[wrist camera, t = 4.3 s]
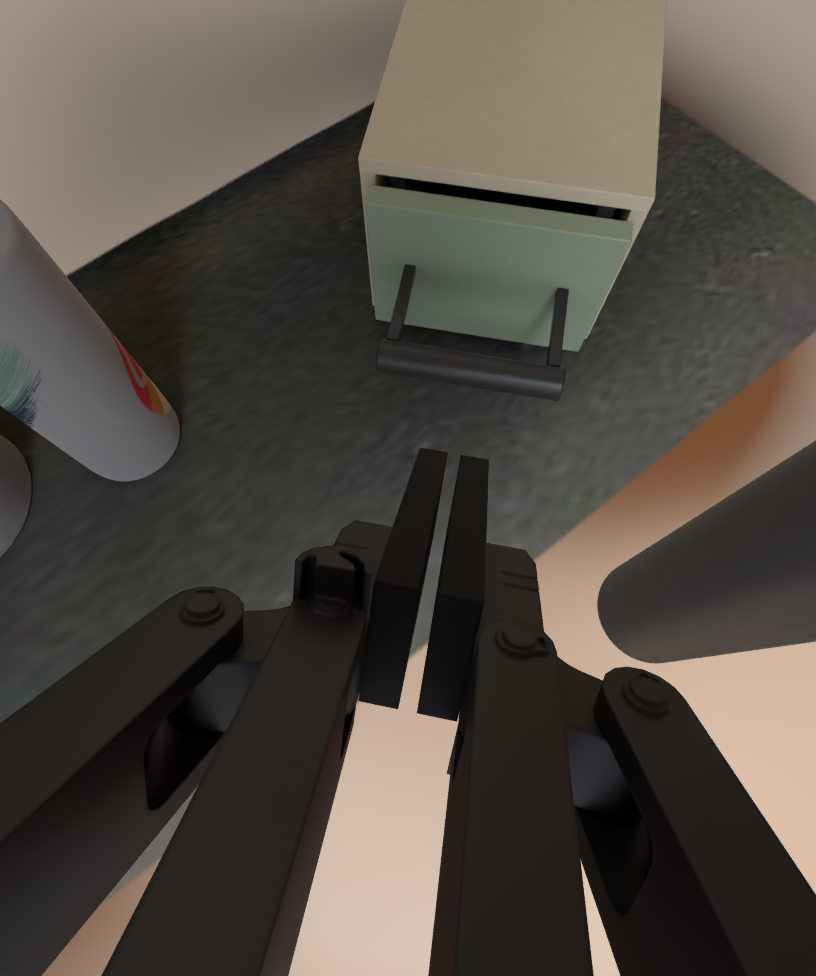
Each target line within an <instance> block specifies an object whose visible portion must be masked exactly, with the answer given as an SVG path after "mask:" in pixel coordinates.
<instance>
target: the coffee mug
mask: <svg viewBox="0 0 816 976" xmlns="http://www.w3.org/2000/svg"><path fill="white" fill-rule="evenodd" d="M30 500H31V475H30V472H29V469H28V466H27V463H26V461H25V459H24V457H23V456H22V454H21V453H20V451H19V450H18V448H17V447H16V446H15V445H14V444H13V443H11V442H10V441H9V440H8V439H6V438H5V437H3V436H2V435H0V557H1V556H2V555H3V554H4V553H5V552H6V551H7V550H8V548H9V547H10V546H11V545H12V543H13V542H14V540H15V539H16V537H17V536H18V534H19V532H20V530H21V528H22V526H23V524H24V522H25V519H26V517H27V514H28V511H29V506H30Z"/></svg>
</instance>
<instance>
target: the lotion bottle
mask: <svg viewBox="0 0 816 976" xmlns="http://www.w3.org/2000/svg"><path fill="white" fill-rule="evenodd" d="M0 406H1V407H3V408H4V409H5V410H7V411H8V412H10V413H11V414H12V415H14V416H15V417H17V418H18V419H19V420H21V421H22V422H24V423H25V424H26V425H28V426H29V427H31V428H32V429H33V430H35V431H36V432H38V433H39V434H40V435H42V436H43V437H45V438H46V439H47V440H49V441H50V442H52V443H53V444H54V445H56V446H57V447H59V448H60V449H61V450H63V451H64V452H66V453H67V454H68V455H70V456H71V457H73V458H74V459H75V460H77V461H78V462H80V463H81V464H83V465H84V466H85V467H87V468H88V469H90V470H91V471H93V472H95V473H96V474H98V475H100V476H102V477H105V478H107V479H111V480H115V481H133V480H138V479H141V478H144V477H146V476H149V475H151V474H152V473H154V472H156V471H157V470H159V469H160V468H161V467H162V466H163V465H164V464H166V462H167V461H168V460H169V459H170V458H171V456H172V455H173V453H174V451H175V449H176V447H177V445H178V441H179V436H180V426H179V421H178V418H177V415H176V413H175V411H174V410H173V408H172V407H171V405H170V404H169V402H168V401H167V400H166V398H165V397H164V396H163V395H162V393H161V392H160V391H159V390H158V388H157V387H156V386H155V385H154V383H153V382H152V381H151V380H150V379H149V377H148V376H147V375H146V374H145V372H144V371H143V370H142V369H141V367H140V366H139V365H138V364H137V363H136V361H135V360H134V359H133V358H132V356H131V355H130V354H129V353H128V352H127V350H126V349H125V348H124V347H123V345H122V344H121V343H120V342H119V340H118V339H117V338H116V337H115V336H114V334H113V333H112V332H111V331H110V329H109V328H108V327H107V326H106V325H105V323H104V322H103V321H102V320H101V318H100V317H99V316H98V315H97V313H96V312H95V311H94V310H93V309H92V307H91V306H90V305H89V304H88V302H87V301H86V300H85V299H84V298H83V296H82V295H81V294H80V293H79V291H78V290H77V289H76V288H75V287H74V285H73V284H72V283H71V282H70V280H69V279H68V278H67V277H66V275H65V274H64V273H63V272H62V271H61V269H60V268H59V267H58V266H57V265H56V263H55V262H54V261H53V260H52V258H51V257H50V256H49V255H48V253H47V252H46V251H45V250H44V249H43V247H42V246H41V245H40V244H39V242H38V241H37V240H36V239H35V238H34V236H33V235H32V234H31V233H30V232H29V230H28V229H27V228H26V227H25V226H24V224H23V223H22V222H21V221H20V220H19V218H18V217H17V216H16V215H15V214H14V213H13V212H12V210H10V209H9V207H8V206H7V205H6V204H5V203H4V202H2V201H1V200H0Z"/></svg>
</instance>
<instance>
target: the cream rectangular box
mask: <svg viewBox="0 0 816 976" xmlns="http://www.w3.org/2000/svg"><path fill="white" fill-rule="evenodd" d="M665 18H666V0H406V2H405V5H404V9H403V12H402V15H401V18H400V22H399V25H398V28H397V31H396V35H395V38H394V41H393V45H392V48H391V51H390V55H389V58H388V61H387V65H386V68H385V71H384V74H383V78H382V81H381V84H380V88H379V91H378V94H377V97H376V101H375V104H374V107H373V110H372V114H371V117H370V120H369V124H368V127H367V130H366V134H365V137H364V140H363V143H362V147H361V150H360V153H359V157H358V161H359V171H360V180H361V190H362V200H363V210H364V221H365V231H366V241H367V251H368V261H369V271H370V282H371V292H372V304H373V305H374V298H373V287H372V276H371V266H370V255H369V245H368V234H367V224H366V213H365V200H366V196H367V193H368V189H369V186H370V185H375V186H382V187H389V188H391V185H390V176H393V177H400V178H407V179H414V180H422V181H429V182H436V183H443V184H450V185H457V186H464V187H471V188H478V189H485V190H493V191H500V192H507V193H514V194H521V195H528V196H535V197H542V198H549V199H556V200H564V201H571V202H578V203H585V204H592V205H599V206H606V207H613V208H616V209H615V211H614V213H613V216H612V218H611V219H614V220H621V221H628V222H632V223H633V231H632V242H631V244H630V246H629V248H628V250H627V252H626V254H625V256H624V259H623V261H622V263H621V265H620V267H619V269H618V271H617V273H616V275H615V277H614V279H613V281H612V283H611V285H610V288H609V290H608V292H607V294H606V296H605V298H604V300H603V302H602V304H601V306H600V308H599V310H598V312H597V315H596V317H595V319H594V321H593V323H592V325H591V327H590V329H589V331H588V333H587V335H586V337H585V339H587V337H588V335H589V333H590V331H591V329H592V327H593V325H594V323H595V321H596V319H597V317H598V315H599V313H600V311H601V309H602V307H603V305H604V303H605V300H606V298H607V296H608V294H609V292H610V290H611V288H612V286H613V284H614V282H615V280H616V278H617V276H618V274H619V272H620V270H621V268H622V266H623V264H624V262H625V259H626V257H627V255H628V253H629V251H630V249H631V247H632V245H633V243H634V241H635V239H636V237H637V235H638V233H639V231H640V229H641V227H642V225H643V223H644V220H645V218H646V216H647V214H648V212H649V210H650V208H651V206H652V204H653V202H654V200H655V189H656V172H657V155H658V138H659V121H660V104H661V85H662V69H663V52H664V35H665Z"/></svg>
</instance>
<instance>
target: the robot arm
mask: <svg viewBox="0 0 816 976" xmlns="http://www.w3.org/2000/svg"><path fill="white" fill-rule="evenodd" d="M447 454H448V453H447V452H442V451H436V450H430V449H424V448H420V450H419V453H418V456H417V459H416V462H415V465H414V467H413V470H412V473H411V476H410V479H409V482H408V485H407V488H406V490H405V493H404V496H403V499H402V502H401V505H400V508H399V511H398V513H397V516H396V519H395V522H394V525H393V527H389V526H384V525H378V524H373V523H367V522H362V521H357V520H355V521H354V522H352V523H351V524H349V525H348V526H346V527H344V528H343V529H341V531H340V533H339V535H338V537H337V539H336V541H335V544H334V545H333V546H324V547H317V548H313V549H310V550H308V551H306V552H303V553H302V554H301V555H300V556H299V557H298V558H297V559H296V560H295V575H294V593H293V601H292V603H291V605H290V606H289V607H285V608H281V609H276V610H266V611H244V604H243V602H242V601H241V599H240V598H239V597H238V596H237V595H236V594H234V593H232V592H230V591H229V590H226V589H221V588H216V587H197V588H193V589H189V590H185V591H182V592H180V593H178V594H176V595H174V596H173V597H171V598H169V599H168V600H166V601H165V602H164V603H162V604H161V605H160V606H158V607H157V608H156V609H154V610H153V611H152V612H150V613H149V614H148V615H146V616H145V617H143V618H142V619H141V620H139V621H138V622H137V623H135V624H134V625H133V626H131V627H130V628H129V629H127V630H126V631H125V632H123V633H122V634H120V635H119V636H118V637H116V638H115V639H114V640H112V641H111V642H110V643H108V644H107V645H106V646H104V647H103V648H102V649H100V650H99V651H98V652H96V653H95V654H93V655H92V656H91V657H89V658H88V659H87V660H85V661H84V662H83V663H81V664H80V665H79V666H77V667H76V668H75V669H73V670H72V671H71V672H69V673H68V674H66V675H65V676H64V677H62V678H61V679H60V680H58V681H57V682H56V683H54V684H53V685H52V686H50V687H49V688H48V689H46V690H45V691H44V692H42V693H41V694H39V695H38V696H37V697H35V698H34V699H33V700H31V701H30V702H29V703H27V704H26V705H25V706H23V707H22V708H21V709H19V710H18V711H17V712H15V713H14V714H12V715H11V716H10V717H8V718H7V719H6V720H4V721H3V722H2V723H0V976H42V974H43V973H44V972H45V971H46V969H47V968H48V967H49V966H50V965H51V963H52V962H53V961H54V960H55V959H56V957H57V956H58V955H59V954H60V952H61V951H62V950H63V949H64V948H65V946H66V945H67V944H68V943H69V942H70V940H71V939H72V938H73V937H74V935H75V934H76V933H77V932H78V931H79V929H80V928H81V927H82V926H83V925H84V923H85V922H86V921H87V920H88V918H89V917H90V916H91V915H92V914H93V912H94V911H95V910H96V909H97V907H98V906H99V905H100V904H101V903H102V901H103V900H104V899H105V898H106V897H107V895H108V894H109V893H110V892H111V890H112V889H113V888H114V887H115V886H116V884H117V883H118V882H119V881H120V880H121V878H122V877H123V876H124V875H125V873H126V872H127V871H128V870H129V869H130V867H131V866H132V865H133V864H134V863H135V861H136V860H137V859H138V858H139V856H140V855H141V854H142V853H143V852H144V850H145V849H146V848H147V847H148V846H149V844H150V843H151V842H152V841H153V839H154V838H155V837H156V836H157V835H158V833H159V832H160V831H161V830H162V829H163V827H164V826H165V825H166V824H167V822H168V821H169V820H170V819H171V818H172V816H173V815H174V814H175V813H176V812H177V810H178V809H179V808H180V807H181V805H182V804H183V803H184V802H185V801H186V799H187V798H188V797H189V796H190V794H191V793H192V792H193V791H194V790H195V788H196V787H197V786H198V785H199V786H198V787H197V789H196V791H195V793H194V795H193V797H192V799H191V801H190V803H189V805H188V807H187V809H186V811H185V813H184V815H183V817H182V819H181V821H180V823H179V825H178V827H177V829H176V831H175V833H174V835H173V837H172V838H171V840H170V842H169V844H168V846H167V848H166V850H165V852H164V854H163V856H162V858H161V860H160V862H159V864H158V866H157V868H156V870H155V872H154V874H153V876H152V878H151V880H150V882H149V884H148V886H147V888H146V890H145V891H144V893H143V896H142V898H141V899H140V901H139V903H138V905H137V907H136V909H135V911H134V913H133V915H132V917H131V919H130V921H129V923H128V925H127V927H126V929H125V931H124V933H123V935H122V937H121V939H120V941H119V942H118V944H117V946H116V949H115V950H114V952H113V954H112V956H111V958H110V960H109V962H108V964H107V966H106V968H105V970H104V972H103V974H102V976H288V974H289V970H290V966H291V963H292V959H293V955H294V951H295V947H296V943H297V939H298V936H299V932H300V928H301V924H302V919H303V916H304V912H305V908H306V905H307V901H308V897H309V893H310V889H311V885H312V882H313V878H314V873H315V870H316V866H317V863H318V859H319V855H320V851H321V847H322V843H323V839H324V836H325V831H326V828H327V824H328V820H329V816H330V812H331V808H332V804H333V800H334V797H335V793H336V789H337V786H338V781H339V777H340V774H341V770H342V766H343V762H344V758H345V755H346V751H347V747H348V743H349V739H350V735H351V732H352V727H353V724H354V716H355V709H356V702H357V699H358V695H359V701H361V702H366V703H371V704H375V705H380V706H385V707H390V708H395V709H398V707H399V702H400V697H401V692H402V687H403V682H404V677H405V672H406V668H407V663H408V658H409V653H410V648H411V643H412V638H413V633H414V628H415V623H416V619H417V614H418V609H419V604H420V599H421V594H422V589H423V584H424V579H425V574H426V570H427V565H428V560H429V555H430V550H431V545H432V540H433V535H434V529H435V523H436V517H437V512H438V506H439V500H440V494H441V489H442V483H443V477H444V471H445V466H446V460H447ZM488 466H489V460H487V459H482V458H476V457H470V456H464V455H461V457H460V463H459V468H458V474H457V479H456V484H455V490H454V495H453V501H452V506H451V511H450V517H449V522H448V528H447V533H446V539H445V544H444V550H443V557H442V563H441V569H440V575H439V581H438V587H437V593H436V600H435V606H434V612H433V618H432V624H431V630H430V636H429V642H428V649H427V656H426V661H425V667H424V673H423V679H422V685H421V691H420V698H419V704H418V710H417V713H419V714H423V715H428V716H433V717H438V718H443V719H448V720H453V721H457V719H458V715H459V723H458V728H457V732H456V736H455V740H454V745H453V749H452V753H451V758H450V762H449V766H448V770H447V774H450V783H449V792H448V801H447V810H446V819H445V828H444V837H443V847H442V856H441V865H440V875H439V883H438V893H437V902H436V912H435V920H434V929H433V939H432V949H431V957H430V967H429V976H593V967H592V959H591V950H590V941H589V932H588V923H587V915H586V906H585V897H584V888H583V880H582V870H581V862H582V865H583V867H584V870H585V873H586V876H587V879H588V882H589V885H590V888H591V891H592V894H593V897H594V899H595V902H596V905H597V908H598V911H599V914H600V917H601V920H602V923H603V926H604V929H605V932H606V935H607V938H608V941H609V943H610V946H611V949H612V952H613V955H614V958H615V961H616V964H617V967H618V970H619V973H620V976H816V894H815V893H814V891H813V890H812V888H811V887H810V885H809V884H808V882H807V881H806V879H805V878H804V876H803V875H802V873H801V872H800V871H799V869H798V868H797V866H796V864H795V863H794V861H793V860H792V858H791V857H790V855H789V854H788V853H787V851H786V849H785V848H784V846H783V845H782V844H781V842H780V841H779V839H778V837H777V836H776V835H775V833H774V831H773V830H772V828H771V827H770V826H769V824H768V822H767V821H766V820H765V818H764V816H763V815H762V814H761V812H760V811H759V809H758V808H757V806H756V805H755V803H754V802H753V800H752V799H751V797H750V796H749V794H748V793H747V791H746V790H745V788H744V787H743V785H742V784H741V782H740V781H739V779H738V778H737V776H736V775H735V773H734V772H733V770H732V769H731V767H730V766H729V764H728V763H727V761H726V760H725V758H724V757H723V755H722V754H721V752H720V751H719V749H718V748H717V746H716V745H715V743H714V742H713V740H712V739H711V738H710V736H709V735H708V733H707V731H706V730H705V728H704V727H703V725H702V724H701V722H700V721H699V719H698V718H697V716H696V715H695V713H694V712H693V710H692V709H691V707H690V706H689V704H688V703H687V701H686V700H685V699H684V698H683V696H682V695H681V694H680V693H679V692H678V691H677V690H676V688H675V687H674V686H672V685H671V684H669V683H668V682H666V681H665V680H664V679H662V678H661V677H659V676H657V675H655V674H652V673H650V672H648V671H645V670H643V669H637V668H632V667H621V668H614V669H612V670H611V671H609V672H608V673H606V674H605V677H604V679H603V681H602V680H600V679H598V678H595V677H593V676H591V675H588V674H586V673H584V672H581V671H579V670H577V669H575V668H573V667H571V666H570V665H568V664H567V663H565V662H564V661H563V660H561V659H560V658H559V657H558V656H557V651H556V648H555V646H554V643H553V641H552V640H551V639H550V638H549V637H548V636H547V634H545V632H544V628H543V620H542V612H541V603H540V596H539V592H538V591H539V588H538V581H537V570H536V564H535V562H534V561H533V560H532V558H531V557H530V556H529V555H528V553H527V552H526V551H525V550H522V549H516V548H511V547H506V546H500V545H495V544H489V543H486V532H487V499H488ZM359 692H360V694H359ZM459 710H460V711H459ZM580 859H581V861H580Z"/></svg>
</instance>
